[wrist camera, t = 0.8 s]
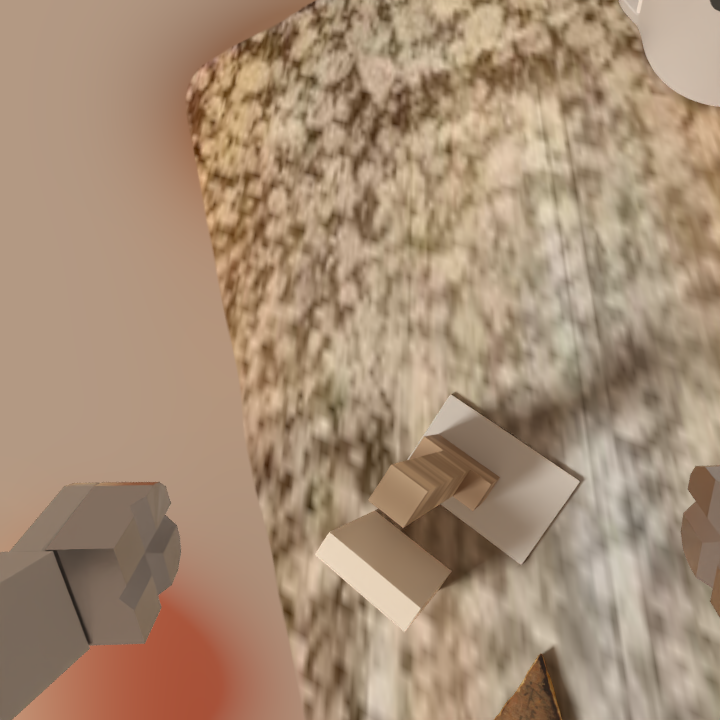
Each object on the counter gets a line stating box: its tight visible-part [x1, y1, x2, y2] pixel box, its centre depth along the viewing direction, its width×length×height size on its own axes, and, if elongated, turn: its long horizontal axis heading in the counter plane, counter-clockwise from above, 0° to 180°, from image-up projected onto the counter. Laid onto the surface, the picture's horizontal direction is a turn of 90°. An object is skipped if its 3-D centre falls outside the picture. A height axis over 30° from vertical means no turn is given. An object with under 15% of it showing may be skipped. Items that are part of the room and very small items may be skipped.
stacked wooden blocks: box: [368, 434, 500, 528], centre depth 41 cm, size 2×6×18 cm, turn 56°
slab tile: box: [315, 511, 451, 632], centre depth 46 cm, size 2×8×10 cm, turn 56°
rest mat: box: [408, 394, 580, 565], centre depth 49 cm, size 8×12×1 cm, turn 56°
